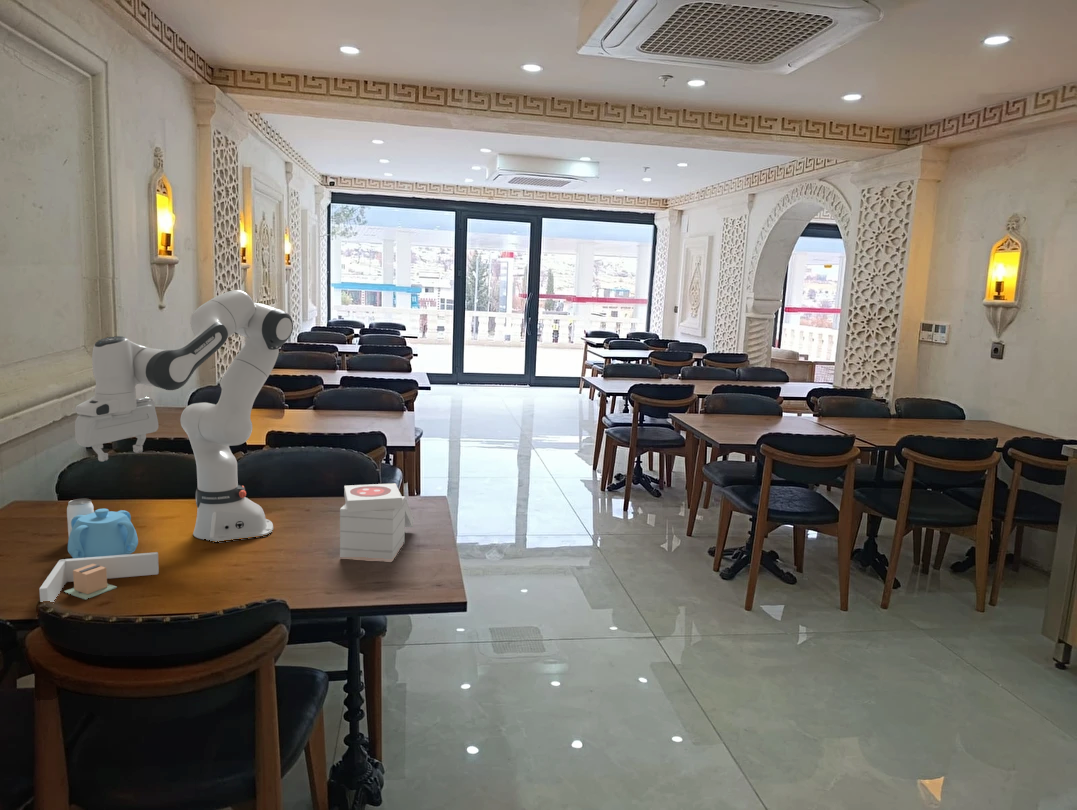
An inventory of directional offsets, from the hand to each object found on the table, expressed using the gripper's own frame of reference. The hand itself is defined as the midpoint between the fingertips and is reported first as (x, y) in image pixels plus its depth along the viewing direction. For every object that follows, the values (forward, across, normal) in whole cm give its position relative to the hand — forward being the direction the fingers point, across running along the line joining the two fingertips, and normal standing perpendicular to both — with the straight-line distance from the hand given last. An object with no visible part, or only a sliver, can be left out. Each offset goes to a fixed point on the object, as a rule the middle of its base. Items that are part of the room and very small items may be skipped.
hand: (121, 456), depth 187 cm
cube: (+30, +12, +2) cm, 33 cm away
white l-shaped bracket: (+31, +11, +5) cm, 33 cm away
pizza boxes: (+33, -49, +42) cm, 72 cm away
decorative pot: (+32, -2, -14) cm, 35 cm away
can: (+32, -7, -30) cm, 44 cm away
